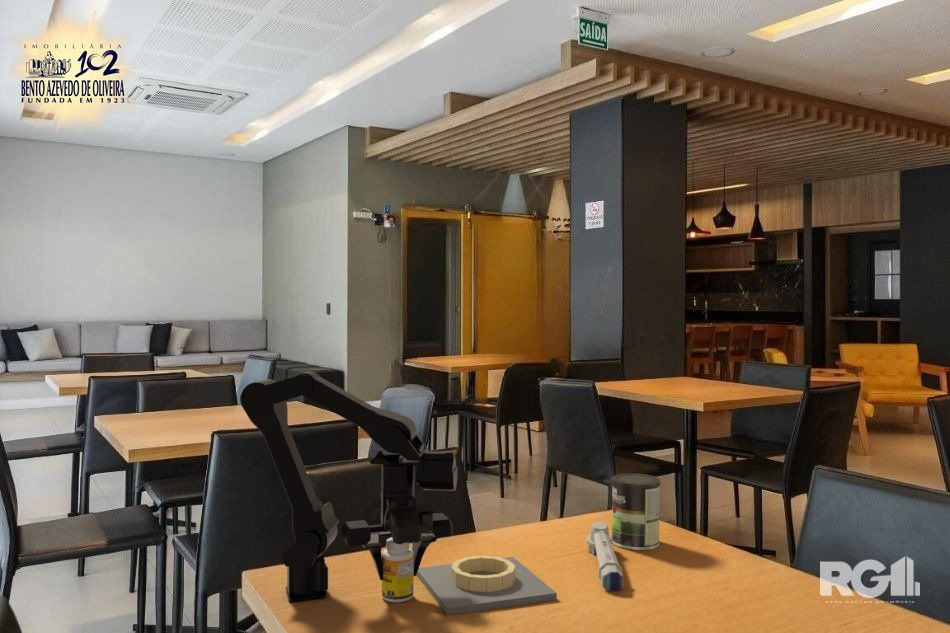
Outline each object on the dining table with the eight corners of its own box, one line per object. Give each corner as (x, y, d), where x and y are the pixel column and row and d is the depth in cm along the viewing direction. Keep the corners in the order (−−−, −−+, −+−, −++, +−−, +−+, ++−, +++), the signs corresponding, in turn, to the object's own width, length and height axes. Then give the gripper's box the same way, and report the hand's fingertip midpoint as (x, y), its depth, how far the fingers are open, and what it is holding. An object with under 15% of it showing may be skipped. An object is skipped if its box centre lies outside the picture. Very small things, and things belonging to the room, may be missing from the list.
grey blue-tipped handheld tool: (598, 571, 135) (585, 514, 160) (597, 605, 136) (585, 543, 161) (628, 571, 135) (610, 514, 160) (627, 606, 136) (609, 544, 161)
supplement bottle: (377, 595, 133) (377, 537, 133) (406, 589, 136) (406, 533, 136) (388, 606, 128) (388, 546, 128) (418, 600, 131) (418, 541, 131)
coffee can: (622, 552, 157) (622, 484, 157) (604, 537, 167) (605, 474, 167) (668, 549, 159) (668, 482, 159) (648, 534, 169) (648, 472, 169)
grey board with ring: (447, 615, 125) (447, 592, 125) (415, 574, 144) (415, 555, 144) (556, 599, 131) (556, 578, 131) (512, 562, 150) (513, 544, 150)
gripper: (353, 505, 121) (353, 601, 121) (463, 495, 127) (462, 587, 128) (341, 489, 132) (341, 578, 132) (443, 481, 138) (443, 565, 138)
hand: (397, 577), depth 132 cm, fingers closed on supplement bottle, 6 cm apart
